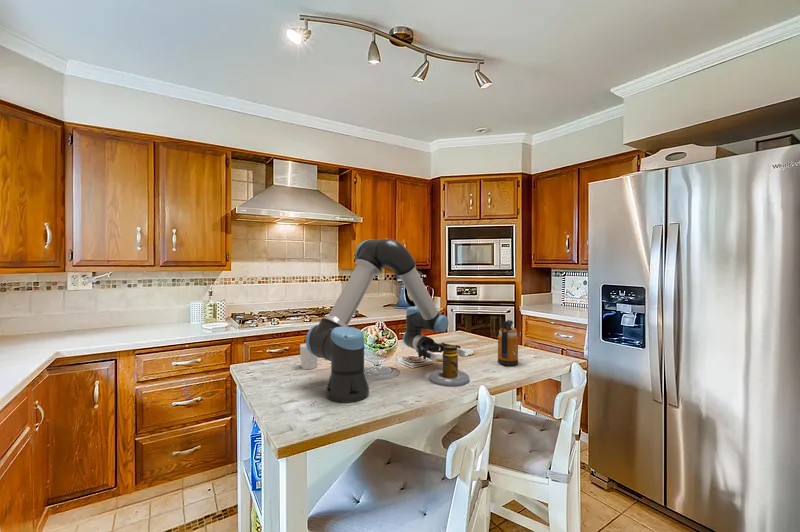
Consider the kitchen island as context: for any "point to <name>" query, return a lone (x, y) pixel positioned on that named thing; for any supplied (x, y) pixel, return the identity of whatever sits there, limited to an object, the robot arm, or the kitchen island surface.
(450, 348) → the condiment
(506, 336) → the canister
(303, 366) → the white cup
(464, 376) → the trivet
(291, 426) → the kitchen island surface
